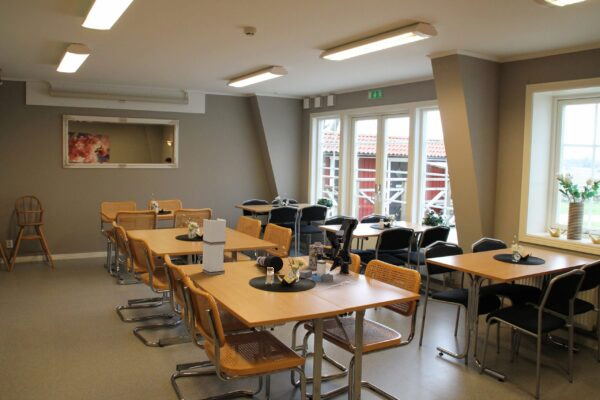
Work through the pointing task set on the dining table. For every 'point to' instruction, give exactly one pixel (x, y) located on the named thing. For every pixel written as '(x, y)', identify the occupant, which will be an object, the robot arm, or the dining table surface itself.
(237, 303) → the dining table surface
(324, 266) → the plug
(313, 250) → the decorative jar
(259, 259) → the black bottle
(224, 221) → the white stacked pillar
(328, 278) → the grey compartment tray
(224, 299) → the dining table surface
